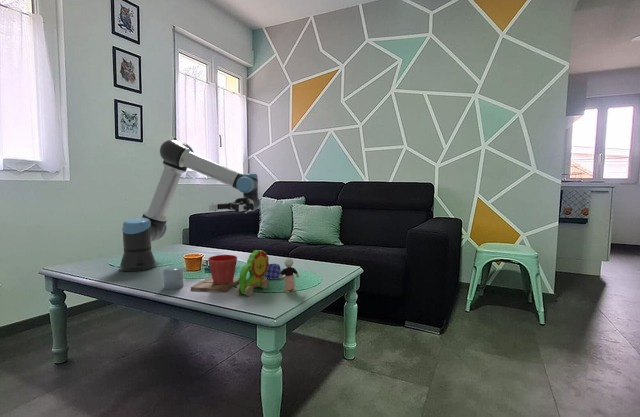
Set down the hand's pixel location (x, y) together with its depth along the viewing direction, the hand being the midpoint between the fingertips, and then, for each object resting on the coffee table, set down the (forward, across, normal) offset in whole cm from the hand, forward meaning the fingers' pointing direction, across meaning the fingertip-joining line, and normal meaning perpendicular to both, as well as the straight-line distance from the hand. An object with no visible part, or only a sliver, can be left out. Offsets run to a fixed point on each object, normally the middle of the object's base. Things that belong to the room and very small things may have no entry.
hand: (224, 208), depth 142 cm
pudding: (-4, -20, -30) cm, 37 cm away
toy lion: (+16, -19, -30) cm, 39 cm away
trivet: (+13, -2, -30) cm, 33 cm away
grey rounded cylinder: (+17, +14, -30) cm, 37 cm away
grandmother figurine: (+15, -32, -30) cm, 46 cm away
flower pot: (+11, -4, -29) cm, 31 cm away
